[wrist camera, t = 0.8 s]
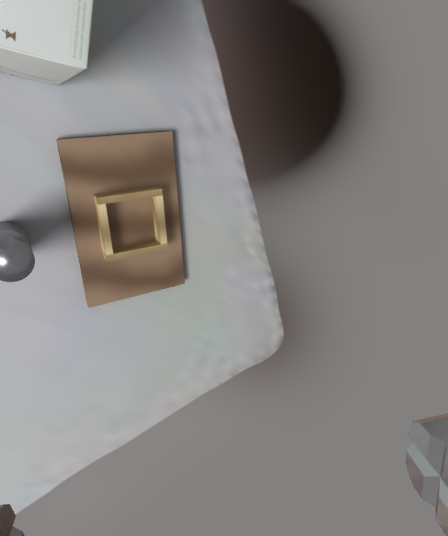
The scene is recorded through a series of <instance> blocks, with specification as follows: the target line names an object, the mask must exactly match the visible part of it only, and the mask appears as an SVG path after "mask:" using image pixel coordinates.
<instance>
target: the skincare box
mask: <svg viewBox="0 0 448 536" xmlns="http://www.w3.org/2000/svg"><path fill="white" fill-rule="evenodd" d="M93 1H94V0H0V72H2V73H6V74H10V75H14V76H18V77H22V78H26V79H30V80H34V81H38V82H43V83H47V84H51V85H56V86H58V85H60V84H61V83H63V82H65V81H66V80H68V79H70V78H71V77H73V76H75V75H76V74H78V73H80V72H81V71H83V70H85V69H87V63H88V53H89V43H90V33H91V22H92V11H93Z"/></svg>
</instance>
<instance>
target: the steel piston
mask: <svg viewBox="0 0 448 536" xmlns="http://www.w3.org/2000/svg"><path fill="white" fill-rule="evenodd" d="M34 264H35V259H34V255H33V252H32V249H31V246H30V244H29V241H28V238H27V235H26V233H25V231H24V230H23V229H22V228H21V227H20V226H19V225H17V224H15V223H12V222H0V280H2V281H6V282H15V281H19V280H22V279H24V278H25V277H27V276H28V275H29V274H30V273H31V272H32V270H33V268H34Z"/></svg>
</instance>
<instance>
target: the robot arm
mask: <svg viewBox="0 0 448 536" xmlns="http://www.w3.org/2000/svg"><path fill="white" fill-rule="evenodd" d="M408 436H409V437H410V438H411V440H412V441H413V444H412V445H411V446H410V447H409V449H408V450H407V451H406V466H407V470H408V473H409V477H410V479H411V481H412V483H413V485H414V488H415V489H416V491H417V492H418V494H419V495H420V497H421V498H422V499H423V500H425V501H426V502H428V503H430V504H431V505H433V506H435V507H436V521H437V522H438V524H439V525H440V527H441V528H442V529H443V531H444V533H445V534H446V535H447V536H448V413H447V414H443V415H438V416H433V417H429V418H424V419H420V420H415V421H412V423H411V424H410V426H409V432H408ZM15 517H16V515H15V513H14V511H13V509H12V507H11V505H10V504H4V505H0V536H24V533H23V532H22V531H21V530H19V529H17V528H15V527H13V523H14V520H15Z"/></svg>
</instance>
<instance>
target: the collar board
mask: <svg viewBox="0 0 448 536" xmlns="http://www.w3.org/2000/svg"><path fill="white" fill-rule="evenodd" d="M57 145H58V150H59V155H60V161H61V166H62V171H63V177H64V182H65V187H66V193H67V198H68V204H69V209H70V214H71V220H72V225H73V230H74V236H75V241H76V246H77V252H78V257H79V262H80V268H81V273H82V279H83V284H84V289H85V295H86V300H87V305H88V307H89V308H90V307H94V306H98V305H102V304H106V303H110V302H114V301H118V300H121V299H125V298H129V297H133V296H137V295H141V294H145V293H149V292H153V291H157V290H161V289H165V288H169V287H173V286H177V285H181V284H185V280H184V268H183V256H182V243H181V231H180V219H179V207H178V195H177V182H176V170H175V158H174V146H173V134H172V131H162V132H148V133H135V134H121V135H108V136H94V137H80V138H67V139H57Z"/></svg>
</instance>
